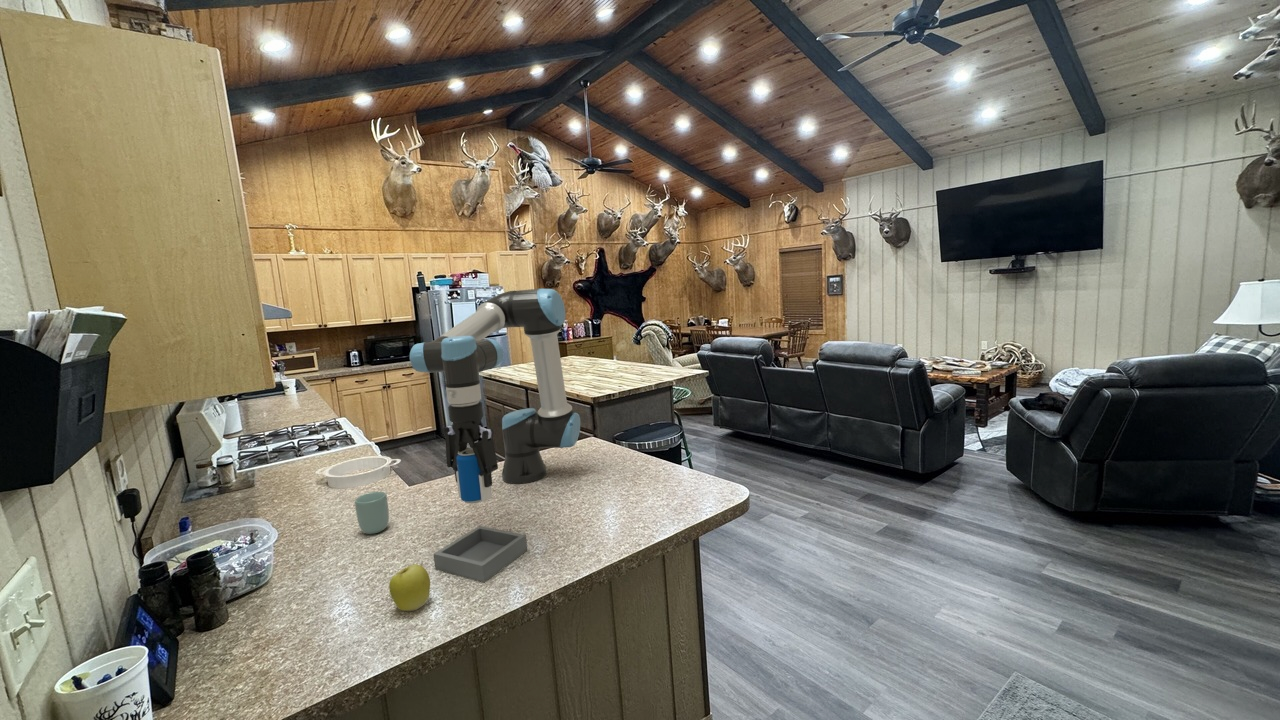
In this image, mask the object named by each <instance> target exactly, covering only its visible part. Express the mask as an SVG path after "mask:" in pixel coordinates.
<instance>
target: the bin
mask: <svg viewBox="0 0 1280 720" xmlns="http://www.w3.org/2000/svg"><path fill="white" fill-rule="evenodd" d="M527 551H528V542H527V535H526V534H524V533H523V534H522V533H517V532H512V531H507V530H503V529H498V528H492V527H488V526H482V525H479V526H477V527H475V528H474V529H472V530H470V531H469V532H467V533H466V534H464V535H462V536H460V537H458V538H457V539H456V540H453V541H452V542H450V543H449V544H447V545H445V546H444V547H443V548H440V549H439V550H438V551H435V552H433V562H434V569H435V570H436V571H438V570H439V571H438V572H442V571H443V572H442V573H446V572H447V574H451V575H455V576H458V577H462V578H466V579H470V580H473V581H476V582H480V583H486V582H487V581H489V580H490V579H491V578H493V577H494V576H495V575H496V574H498V573H499V572H501V571H502V570H503V569H504V568H505V567H507V566H508V565H510V564H511V563H512V562H514V561H515V560H516V559H517V558H519V557H521V555H523V554H524V553H526V552H527Z"/></svg>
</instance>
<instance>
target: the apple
mask: <svg viewBox="0 0 1280 720" xmlns="http://www.w3.org/2000/svg"><path fill="white" fill-rule="evenodd" d="M388 588H389V594H390V597H391V598H392V601H393V603H394V604H395V606H396V607H397V608H398V609H399V610H400V611H402V612H411V611H416V610H419V609H420V608H421V607H423V606H424V605H425V604H426V602H427V601H428V599H429V597H430V592H431V578H430V575H429V573H428V571H427V569H425V567H424V566H422V565H420V564H412V565H409V566H406V567H404V568H403V569H401V570H400V571H398V572H396V574H394V575H393V576H392V577H391V578H390V581H389V585H388Z"/></svg>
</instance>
